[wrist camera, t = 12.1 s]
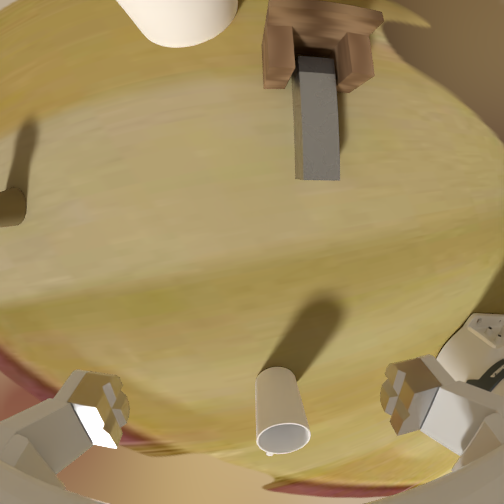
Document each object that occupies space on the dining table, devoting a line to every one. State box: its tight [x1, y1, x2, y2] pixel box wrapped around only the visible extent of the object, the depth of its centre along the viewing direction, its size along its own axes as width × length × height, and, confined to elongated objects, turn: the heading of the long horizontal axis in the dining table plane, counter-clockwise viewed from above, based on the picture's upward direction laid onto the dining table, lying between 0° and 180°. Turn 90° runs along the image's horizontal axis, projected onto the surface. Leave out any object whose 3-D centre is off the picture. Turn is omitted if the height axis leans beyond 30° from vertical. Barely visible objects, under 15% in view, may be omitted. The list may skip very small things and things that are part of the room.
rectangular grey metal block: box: [291, 56, 340, 180], centre depth 30 cm, size 4×14×5 cm, turn 2°
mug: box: [255, 367, 311, 456], centre depth 37 cm, size 10×7×12 cm, turn 163°
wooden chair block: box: [262, 0, 384, 93], centre depth 25 cm, size 11×6×12 cm, turn 92°
